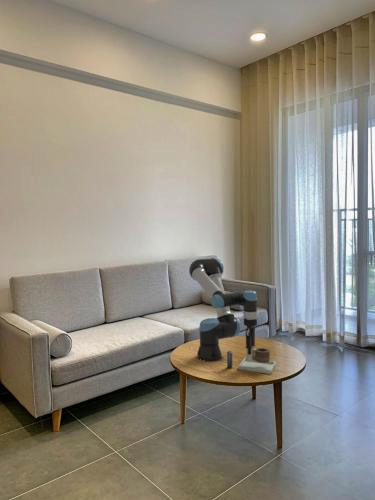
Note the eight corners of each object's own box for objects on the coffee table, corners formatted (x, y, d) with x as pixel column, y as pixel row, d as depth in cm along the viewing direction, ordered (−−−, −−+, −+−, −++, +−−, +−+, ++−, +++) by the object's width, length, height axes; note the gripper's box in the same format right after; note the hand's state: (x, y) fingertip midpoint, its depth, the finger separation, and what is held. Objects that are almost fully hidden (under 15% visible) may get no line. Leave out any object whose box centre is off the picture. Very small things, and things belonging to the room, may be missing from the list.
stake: (226, 368, 218) (226, 352, 217) (228, 366, 220) (227, 351, 220) (231, 368, 216) (231, 353, 216) (233, 367, 219) (232, 351, 218)
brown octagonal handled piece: (270, 359, 219) (270, 348, 218) (267, 363, 212) (267, 352, 211) (249, 356, 224) (249, 346, 223) (245, 360, 217) (245, 350, 216)
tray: (238, 369, 215) (238, 365, 215) (245, 360, 229) (245, 357, 228) (271, 373, 208) (271, 370, 208) (276, 364, 221) (276, 361, 221)
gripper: (247, 314, 227) (247, 353, 228) (240, 320, 212) (240, 362, 213) (259, 315, 224) (260, 354, 225) (253, 322, 209) (253, 364, 210)
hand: (250, 358), depth 219 cm, fingers closed on brown octagonal handled piece, 3 cm apart
